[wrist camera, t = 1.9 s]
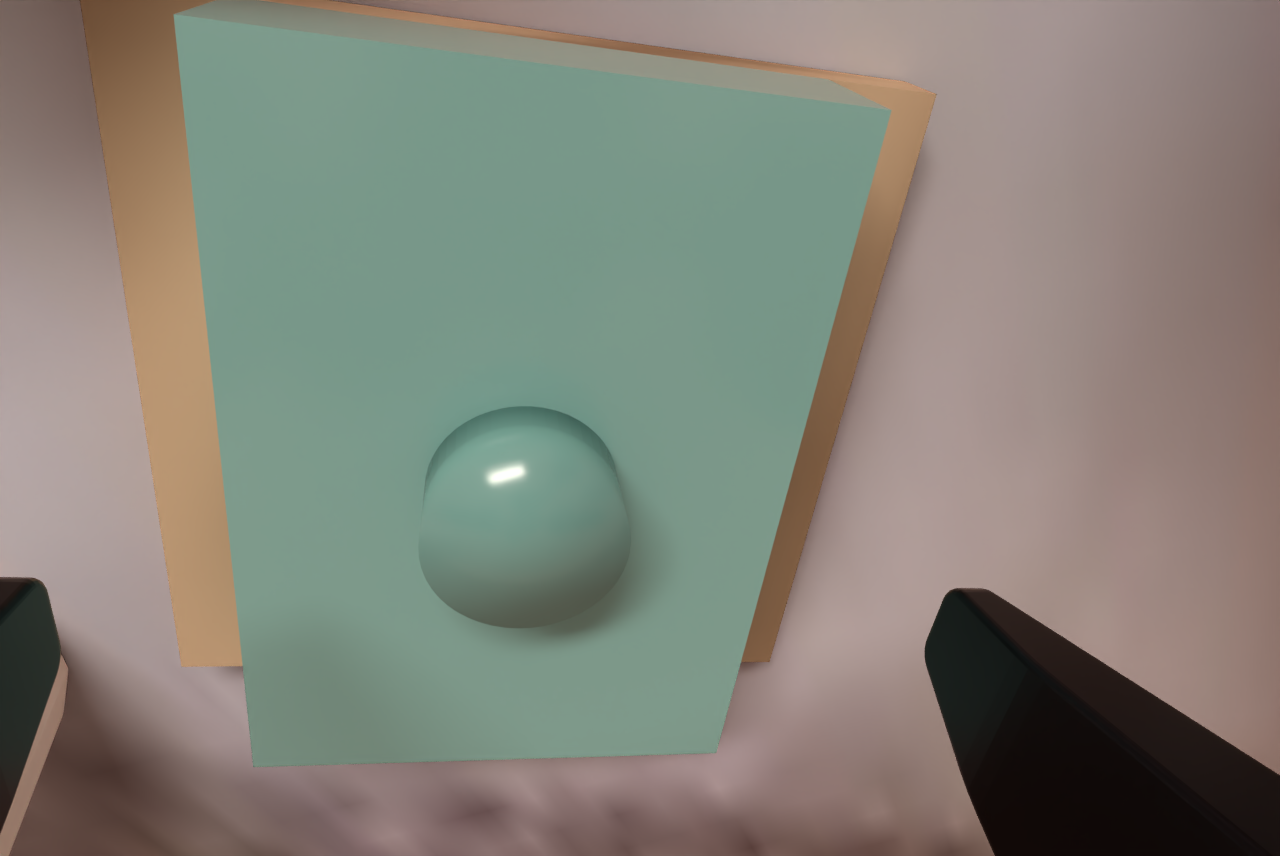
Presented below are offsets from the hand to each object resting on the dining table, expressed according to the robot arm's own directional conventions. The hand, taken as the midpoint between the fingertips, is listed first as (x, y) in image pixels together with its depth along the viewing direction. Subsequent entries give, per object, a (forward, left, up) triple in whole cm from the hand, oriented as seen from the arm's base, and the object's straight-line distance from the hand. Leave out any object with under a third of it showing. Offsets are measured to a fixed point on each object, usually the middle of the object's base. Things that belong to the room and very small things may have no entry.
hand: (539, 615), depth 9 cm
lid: (0, 0, -4) cm, 4 cm away
